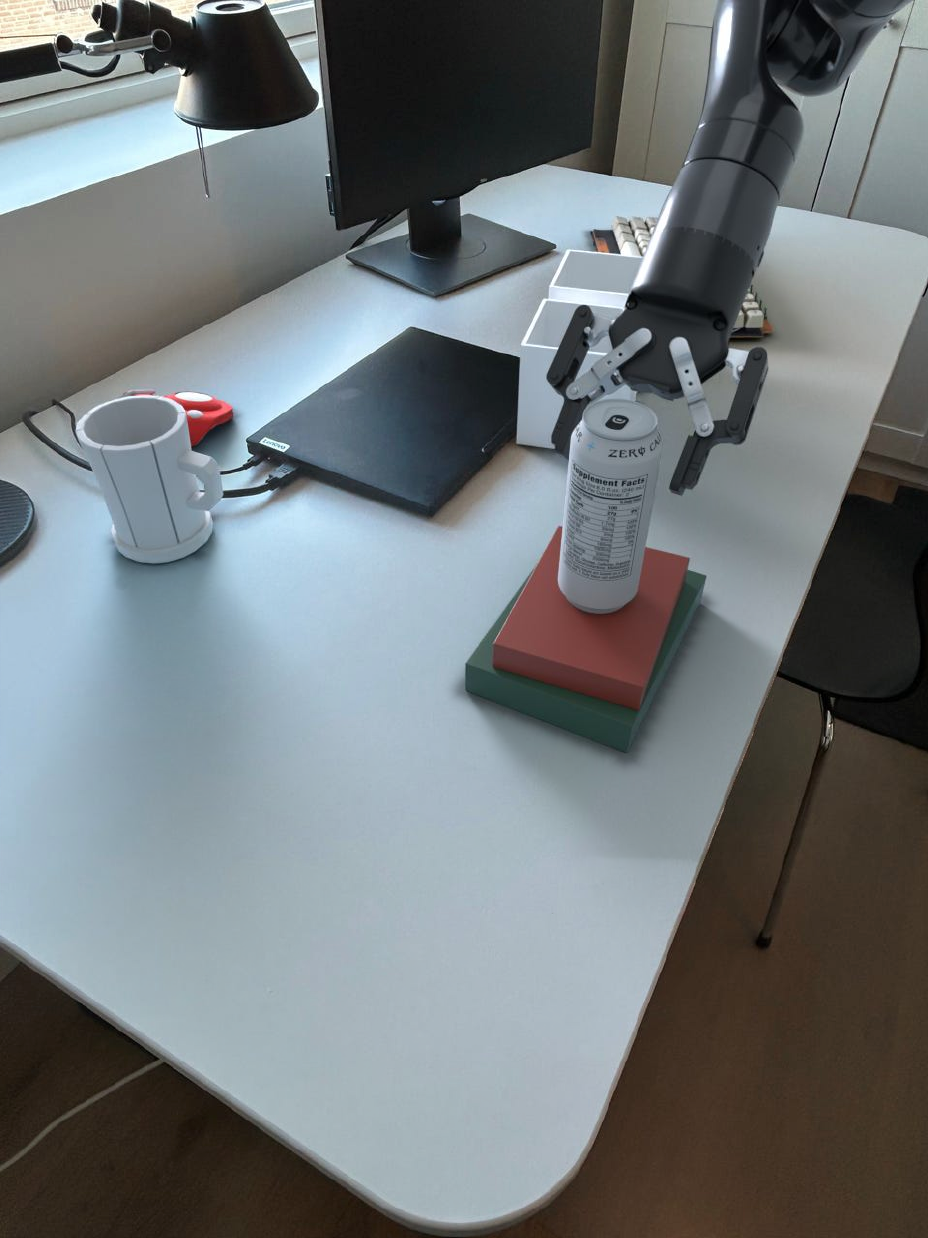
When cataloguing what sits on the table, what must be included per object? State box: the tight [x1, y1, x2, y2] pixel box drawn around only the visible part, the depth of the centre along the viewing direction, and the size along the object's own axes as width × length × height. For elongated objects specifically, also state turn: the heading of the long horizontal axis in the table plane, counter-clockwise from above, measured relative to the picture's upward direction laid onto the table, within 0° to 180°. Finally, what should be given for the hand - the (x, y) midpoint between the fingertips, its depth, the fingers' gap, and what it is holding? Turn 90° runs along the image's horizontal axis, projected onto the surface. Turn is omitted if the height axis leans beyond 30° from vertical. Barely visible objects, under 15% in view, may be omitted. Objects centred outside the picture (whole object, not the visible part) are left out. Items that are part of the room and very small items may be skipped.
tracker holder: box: [115, 389, 234, 447], centre depth 93 cm, size 12×4×10 cm
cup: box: [75, 395, 224, 564], centre depth 77 cm, size 10×9×12 cm
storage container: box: [516, 249, 643, 450], centre depth 96 cm, size 25×11×11 cm, turn 165°
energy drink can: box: [558, 399, 664, 614], centre depth 62 cm, size 6×6×15 cm
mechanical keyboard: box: [589, 215, 774, 338], centre depth 121 cm, size 38×19×3 cm, turn 1°
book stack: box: [464, 525, 708, 754], centre depth 69 cm, size 18×13×6 cm
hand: (617, 474), depth 61 cm, fingers open, 8 cm apart
